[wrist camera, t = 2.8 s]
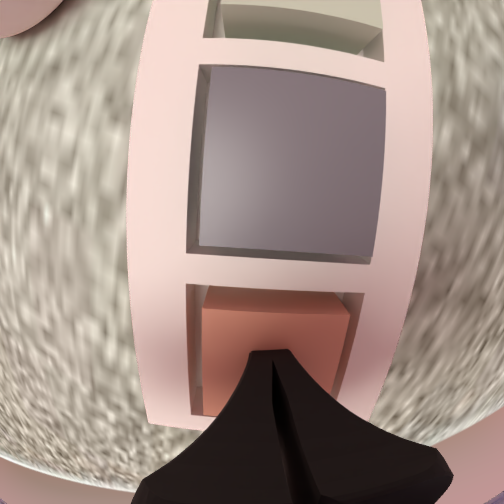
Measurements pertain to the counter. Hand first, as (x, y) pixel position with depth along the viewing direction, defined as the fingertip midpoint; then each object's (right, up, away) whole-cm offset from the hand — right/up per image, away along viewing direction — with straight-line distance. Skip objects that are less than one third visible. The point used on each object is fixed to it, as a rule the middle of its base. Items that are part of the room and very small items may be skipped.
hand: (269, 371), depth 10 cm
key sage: (+1, +14, -1) cm, 14 cm away
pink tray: (0, +8, +2) cm, 8 cm away
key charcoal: (+1, +7, +1) cm, 7 cm away
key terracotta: (0, +1, +3) cm, 3 cm away
